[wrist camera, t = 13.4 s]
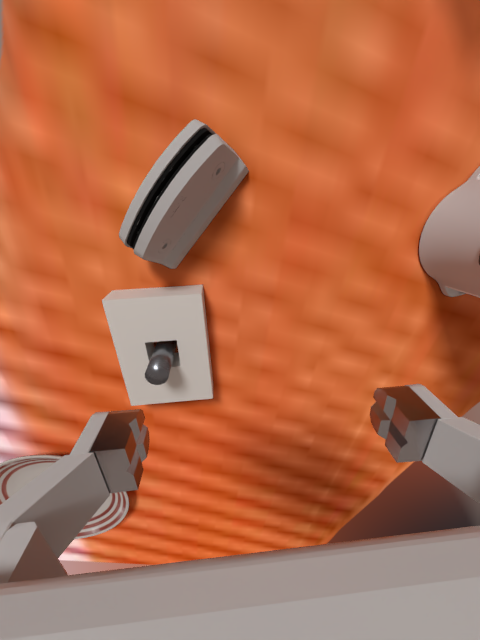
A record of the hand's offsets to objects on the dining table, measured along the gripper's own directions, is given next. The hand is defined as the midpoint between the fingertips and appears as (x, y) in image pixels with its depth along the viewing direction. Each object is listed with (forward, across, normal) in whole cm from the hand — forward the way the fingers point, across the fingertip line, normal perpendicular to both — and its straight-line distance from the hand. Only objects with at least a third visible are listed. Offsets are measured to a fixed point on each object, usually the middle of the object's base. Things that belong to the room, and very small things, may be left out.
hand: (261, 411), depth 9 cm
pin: (+31, +10, +14) cm, 36 cm away
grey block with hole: (+31, +10, +14) cm, 36 cm away
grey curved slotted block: (+32, +5, -6) cm, 32 cm away
